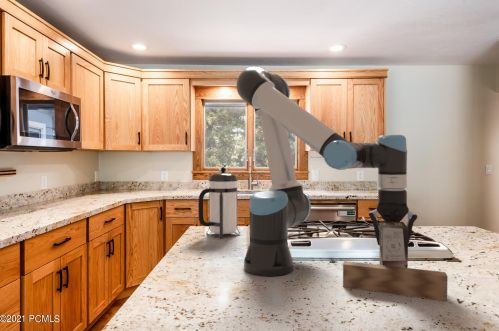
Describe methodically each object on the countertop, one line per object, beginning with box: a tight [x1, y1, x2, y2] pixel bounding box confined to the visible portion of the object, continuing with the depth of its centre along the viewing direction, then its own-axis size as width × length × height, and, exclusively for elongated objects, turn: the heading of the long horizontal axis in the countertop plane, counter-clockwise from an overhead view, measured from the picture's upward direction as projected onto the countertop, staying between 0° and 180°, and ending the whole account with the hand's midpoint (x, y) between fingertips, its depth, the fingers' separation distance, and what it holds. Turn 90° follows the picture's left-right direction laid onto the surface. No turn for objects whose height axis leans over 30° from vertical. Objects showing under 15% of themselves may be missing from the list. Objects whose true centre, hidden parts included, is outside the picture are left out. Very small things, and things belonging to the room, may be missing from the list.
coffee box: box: [379, 220, 409, 268], centre depth 91 cm, size 9×6×16 cm
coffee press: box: [197, 166, 241, 239], centre depth 147 cm, size 17×16×30 cm
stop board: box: [342, 260, 449, 302], centre depth 85 cm, size 24×3×6 cm, turn 68°
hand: (392, 270), depth 97 cm, fingers closed
